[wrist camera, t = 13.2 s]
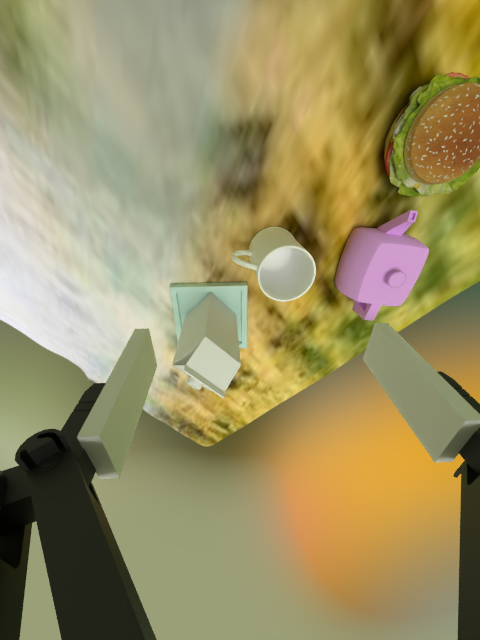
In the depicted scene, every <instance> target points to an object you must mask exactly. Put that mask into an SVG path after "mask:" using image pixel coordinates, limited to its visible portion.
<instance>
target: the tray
mask: <svg viewBox="0 0 480 640" xmlns="http://www.w3.org/2000/svg"><path fill="white" fill-rule="evenodd" d="M169 288H170V294H171V301H172V307H173V313H174V320H175V326H176V332H177V339H178V342H179V338H180V335H181V331H182V327H183V323H184V320H185V316H186V315H187V314H188V313H189V312H190V311H191V310H192V309H193V308H194V307H195V306H196V305H197V304H198V303H200V302H201V301H202V300H203V299H204V298H205V297H206V296H207V295H208V294H209V293H212V294H213V295H215V296H216V297H217V298H218V299H219V300H220V301H221V302H222V303H223V304H225V305H226V306H227V307H228V308H229V309H230V310H231V311H232V312H234V313H235V314H236V316H237V327H238V339H239V348H247V282H221V283H182V284H171V285H170V287H169Z"/></svg>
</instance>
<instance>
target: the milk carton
mask: <svg viewBox="0 0 480 640" xmlns="http://www.w3.org/2000/svg"><path fill="white" fill-rule="evenodd" d="M173 366H174V367H175V368H177V369H178V370H180V371H181V372H183V373H184V374H186V375H187V376H189V379H188V381H187V384H188V385H190V386H191V387H193V388H195V389H198V390H200V389H201V387H202V386H203V387H205V388H206V389H208V390H211V391H213V392H215V393H216V394H218V395H219V396H220V397H222V398H224V392H225V390H226V389H227V387H228V385H229V384H230V382H231V380H232V379H233V377H234V376H235V374H236V372H237V371H238V369H239V367H240V366H241V362H240V351H239V339H238V327H237V316H236V314H235V313H234V312H232V311H231V310H230V309H229V308H228V307H227V306H226V305H225V304H223V303H222V302H221V301H220V300H219V299H218V298H217V297H216V296H215V295H213V294H212V293H209V294H208V295H207V296H206V297H205V298H204V299H203V300H202V301H201V302H200V303H198V304H197V305H196V306H195V307H194V308H193V309H192V310H191V311H190V312H189V313H188V314H187V315H186V316H185V320H184V323H183V327H182V331H181V335H180V338H179V342H178V346H177V349H176V353H175V357H174V361H173Z"/></svg>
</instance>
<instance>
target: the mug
mask: <svg viewBox="0 0 480 640" xmlns="http://www.w3.org/2000/svg"><path fill="white" fill-rule="evenodd" d="M238 255H248V256H249V259H250V262H251V263H250V262H246V261H243V260H241V259H239V258H237V257H236V256H238ZM231 258H232V260H233V261H234V262H235V263H237V264H238V265H240V266H243V267H246V268H249V269H253V270H254V271H255V274H256V277H257V280H258V283H259V286H260V288H261V290H262V291H263V293H264V294H265V295H266V296H268V297H269V298H271V299H273V300H276V301H291V300H294V299H297V298H299V297H301V296H302V295H303V294H305V293H306V292H307V291H308V290H309V288H310V287H311V286H312V284H313V282H314V279H315V275H316V266H315V262H314V260H313V258H312V256H311V255H310V254H309V252H308V251H306V250H305V249H304V248H303V247H302V246H301V245H300V244H299V243H298V242H297V241H296V240H295V239H294V237H293V235H292V234H291V233H290V232H289V231H287V230H286V229H284V228H281V227H268V228H265V229H263V230H261V231H260V232H258V233H257V234H256V235H255V236H254V238H253V239H252V241H251V243H250V246H249V250H237V251H234V252H233V253H232V255H231Z"/></svg>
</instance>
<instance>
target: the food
mask: <svg viewBox="0 0 480 640" xmlns="http://www.w3.org/2000/svg"><path fill="white" fill-rule="evenodd" d="M384 160H385V167H386V172H387V174H388V176H389V178H390V182H391V184H393V185H395V186H397V187H399V190H398V193H399V194H402V195H408V196H432V195H433V194H438V193H439V194H443V195H444V194H450V193H452V192H454V191H455V190H457V189H458V188H459V187H461V186H462V185H464V184H465V183H466V181H467V180H468V179H469V178H470V177H471V176H472V175H473V174H475V173H476V172H477V171H478V169H479V168H480V78H478V77H472V78H469V77H468V76H466V75H464V74H461V73H452V72H451V73H449V74H447V75H440V74H438V75H436V76H435V77H434V78H433V79H432V80H431V82H430V84H426V85H423V86H420V87H419V88H418V89H416V90H415V91H414V92H413V93H412V94H411V96H410V100H409V103H408V104H407V105H406V106H405V107H404V108H403V109H402V111H401V112H400V113H399V115H398V116H397V118H396V119H395V121H394V122H393V124H392V126H391V128H390V131H389V133H388V136H387V138H386V141H385V151H384Z"/></svg>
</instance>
